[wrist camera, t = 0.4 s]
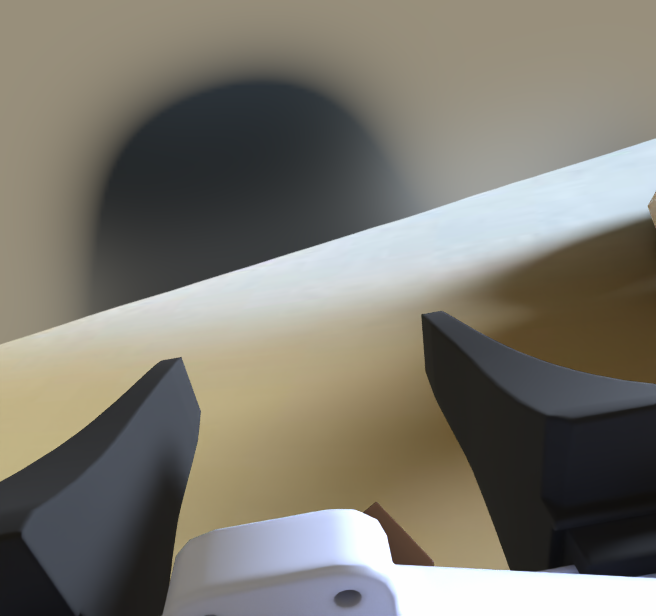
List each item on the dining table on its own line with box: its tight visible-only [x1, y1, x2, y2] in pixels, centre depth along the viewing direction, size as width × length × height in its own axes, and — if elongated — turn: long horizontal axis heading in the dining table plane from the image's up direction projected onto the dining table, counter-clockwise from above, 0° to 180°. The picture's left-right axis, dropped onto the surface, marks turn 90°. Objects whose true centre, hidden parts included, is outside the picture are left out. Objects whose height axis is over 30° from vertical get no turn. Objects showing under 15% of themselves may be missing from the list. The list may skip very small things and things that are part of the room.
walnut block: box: [363, 502, 434, 567], centre depth 26 cm, size 4×4×5 cm
